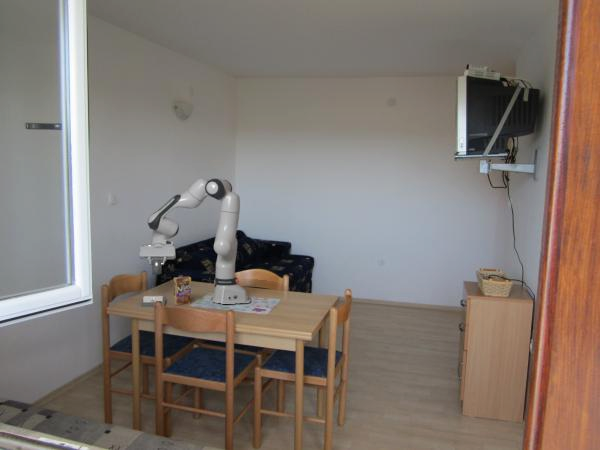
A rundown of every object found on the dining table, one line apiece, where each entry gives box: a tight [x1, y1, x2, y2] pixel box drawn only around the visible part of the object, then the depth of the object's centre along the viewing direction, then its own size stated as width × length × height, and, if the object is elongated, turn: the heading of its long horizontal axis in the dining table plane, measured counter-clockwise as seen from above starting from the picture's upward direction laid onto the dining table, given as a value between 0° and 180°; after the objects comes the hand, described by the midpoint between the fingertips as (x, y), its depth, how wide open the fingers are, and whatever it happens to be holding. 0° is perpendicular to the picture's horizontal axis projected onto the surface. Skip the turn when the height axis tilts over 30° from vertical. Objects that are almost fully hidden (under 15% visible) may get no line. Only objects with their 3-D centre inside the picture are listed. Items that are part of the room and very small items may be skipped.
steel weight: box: [151, 259, 162, 276], centre depth 263 cm, size 5×5×8 cm
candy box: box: [172, 275, 192, 306], centre depth 259 cm, size 9×4×15 cm, turn 123°
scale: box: [141, 295, 167, 308], centre depth 257 cm, size 12×12×6 cm
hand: (156, 264), depth 263 cm, fingers closed on steel weight, 5 cm apart
